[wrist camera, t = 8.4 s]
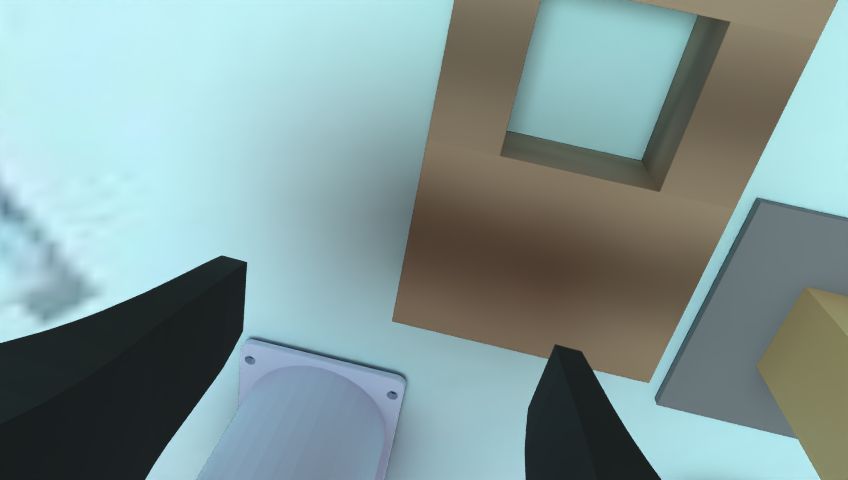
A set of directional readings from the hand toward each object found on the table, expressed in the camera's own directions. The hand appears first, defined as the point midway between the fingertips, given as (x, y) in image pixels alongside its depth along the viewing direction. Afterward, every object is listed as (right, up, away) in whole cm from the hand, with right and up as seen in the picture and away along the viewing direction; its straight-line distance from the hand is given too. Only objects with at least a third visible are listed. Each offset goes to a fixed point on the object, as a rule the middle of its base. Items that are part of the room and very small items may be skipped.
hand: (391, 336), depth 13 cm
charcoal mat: (+17, -2, +10) cm, 20 cm away
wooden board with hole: (+7, +8, +7) cm, 12 cm away
